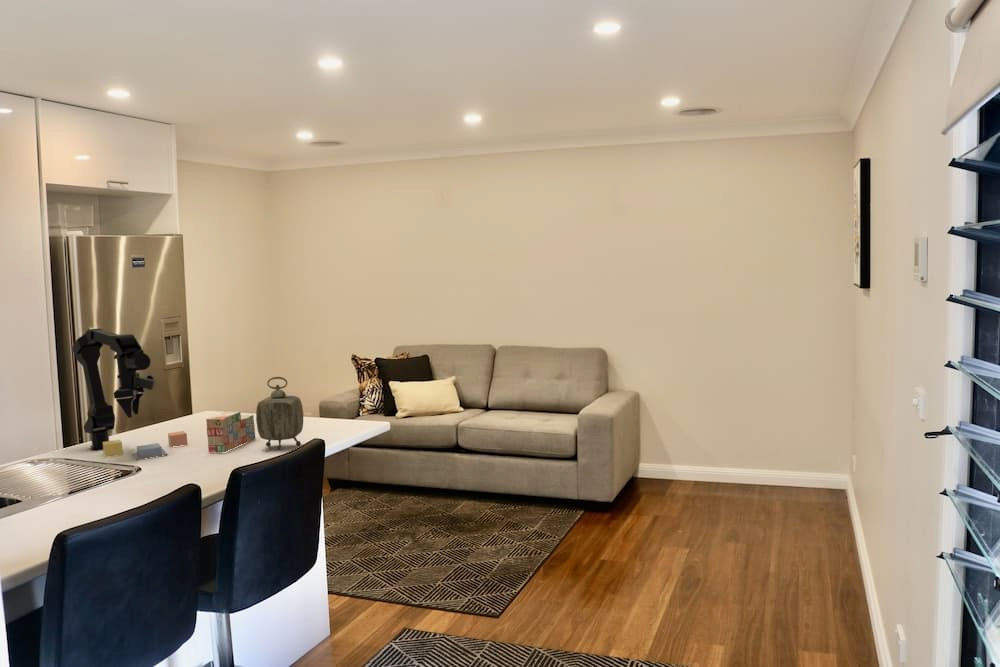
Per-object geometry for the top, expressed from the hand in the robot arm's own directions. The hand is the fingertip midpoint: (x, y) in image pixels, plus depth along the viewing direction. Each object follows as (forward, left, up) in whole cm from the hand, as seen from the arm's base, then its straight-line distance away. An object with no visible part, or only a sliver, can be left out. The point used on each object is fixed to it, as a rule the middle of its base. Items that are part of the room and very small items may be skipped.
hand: (133, 415), depth 289 cm
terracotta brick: (-6, +15, -14) cm, 21 cm away
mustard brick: (-6, -7, -14) cm, 17 cm away
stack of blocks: (+8, +31, -14) cm, 35 cm away
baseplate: (+4, +4, -14) cm, 15 cm away
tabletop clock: (+24, +44, -14) cm, 52 cm away
